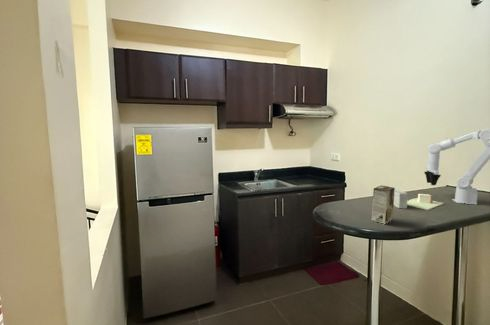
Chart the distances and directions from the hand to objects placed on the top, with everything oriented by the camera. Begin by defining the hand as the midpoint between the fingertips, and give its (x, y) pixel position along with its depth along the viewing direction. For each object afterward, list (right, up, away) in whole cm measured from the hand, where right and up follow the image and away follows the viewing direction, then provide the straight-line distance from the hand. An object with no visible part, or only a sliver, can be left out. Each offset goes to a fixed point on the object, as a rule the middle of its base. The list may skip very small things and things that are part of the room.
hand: (431, 183), depth 163 cm
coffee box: (-54, -14, -41) cm, 69 cm away
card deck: (-13, -10, -13) cm, 21 cm away
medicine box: (-32, -11, -19) cm, 39 cm away
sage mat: (-16, -10, -14) cm, 24 cm away
